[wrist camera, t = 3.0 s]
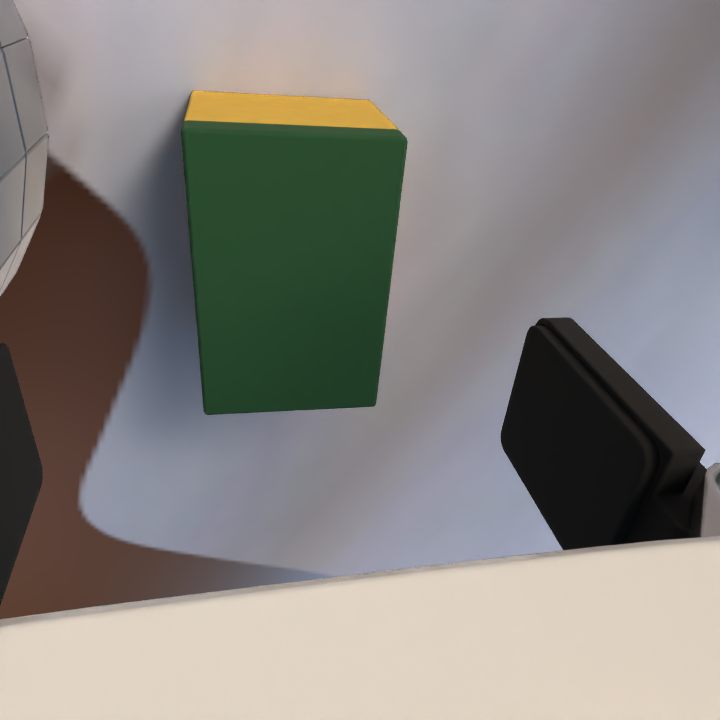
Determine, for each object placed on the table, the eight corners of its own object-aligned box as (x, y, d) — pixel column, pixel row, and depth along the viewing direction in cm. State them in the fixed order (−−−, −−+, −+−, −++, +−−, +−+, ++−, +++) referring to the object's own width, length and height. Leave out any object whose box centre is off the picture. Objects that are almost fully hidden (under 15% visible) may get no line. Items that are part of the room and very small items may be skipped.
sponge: (191, 89, 14) (179, 128, 11) (371, 99, 15) (409, 137, 12) (208, 335, 18) (203, 416, 15) (351, 331, 19) (376, 407, 16)
